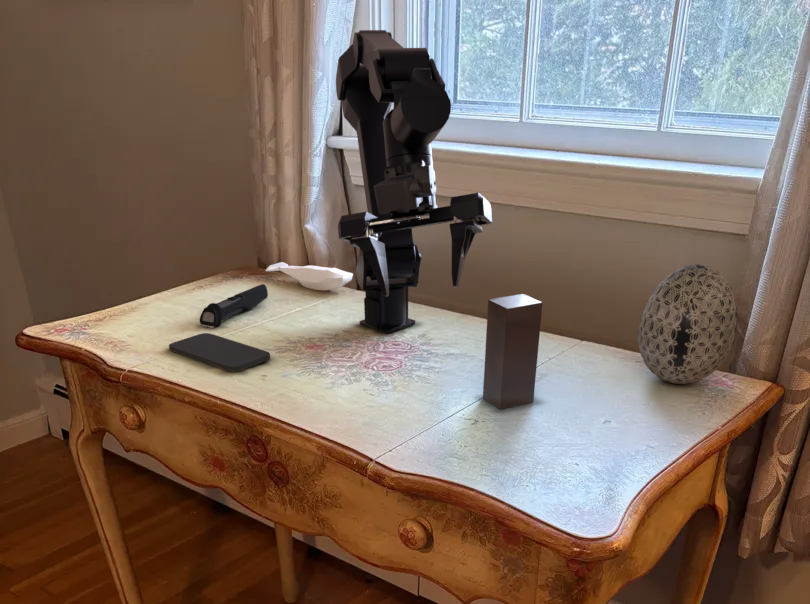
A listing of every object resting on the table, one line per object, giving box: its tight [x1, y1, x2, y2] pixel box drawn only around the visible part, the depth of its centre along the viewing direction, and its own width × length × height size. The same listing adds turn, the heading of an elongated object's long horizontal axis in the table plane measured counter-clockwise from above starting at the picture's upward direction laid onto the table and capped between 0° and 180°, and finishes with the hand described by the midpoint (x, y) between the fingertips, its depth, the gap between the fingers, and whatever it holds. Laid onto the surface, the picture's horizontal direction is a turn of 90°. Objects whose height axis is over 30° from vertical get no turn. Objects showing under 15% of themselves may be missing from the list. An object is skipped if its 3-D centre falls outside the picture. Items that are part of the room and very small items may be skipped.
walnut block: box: [482, 293, 543, 410], centre depth 96 cm, size 4×5×12 cm
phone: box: [168, 332, 271, 373], centre depth 113 cm, size 7×1×15 cm
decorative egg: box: [637, 263, 738, 385], centre depth 100 cm, size 12×12×15 cm
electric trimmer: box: [199, 283, 269, 329], centre depth 128 cm, size 4×16×3 cm, turn 153°
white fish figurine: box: [265, 261, 354, 291], centre depth 141 cm, size 6×18×4 cm, turn 52°
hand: (420, 291), depth 101 cm, fingers open, 9 cm apart
